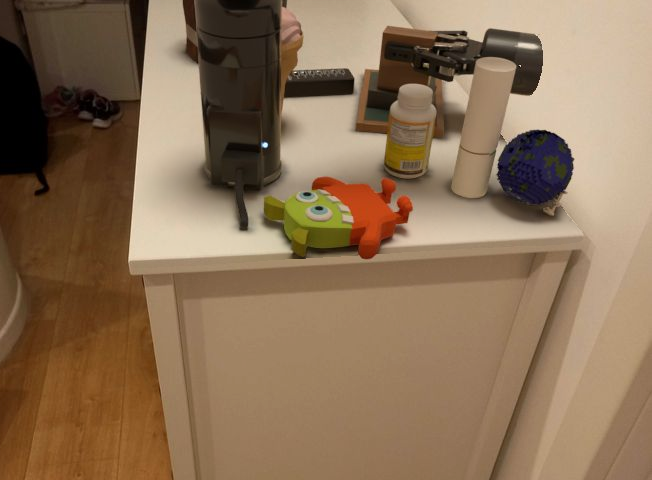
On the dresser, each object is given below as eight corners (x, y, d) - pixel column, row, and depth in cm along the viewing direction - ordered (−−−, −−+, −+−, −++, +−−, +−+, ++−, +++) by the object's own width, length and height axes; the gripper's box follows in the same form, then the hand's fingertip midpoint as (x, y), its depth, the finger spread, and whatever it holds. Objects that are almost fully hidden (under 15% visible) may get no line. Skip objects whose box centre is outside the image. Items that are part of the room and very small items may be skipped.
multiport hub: (354, 93, 104) (355, 78, 103) (282, 97, 103) (283, 81, 101) (347, 82, 108) (348, 67, 106) (278, 85, 106) (278, 70, 104)
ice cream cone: (312, 117, 98) (318, -40, 84) (282, 150, 90) (284, -18, 77) (242, 104, 100) (237, -51, 87) (207, 134, 93) (196, -30, 79)
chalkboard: (442, 138, 94) (444, 129, 93) (355, 130, 95) (356, 122, 94) (440, 82, 109) (441, 74, 108) (364, 76, 110) (365, 68, 109)
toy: (435, 221, 71) (300, 243, 67) (429, 254, 74) (298, 277, 69) (375, 158, 81) (254, 173, 77) (371, 189, 84) (254, 205, 80)
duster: (429, 116, 96) (441, 42, 90) (366, 107, 98) (373, 33, 91) (434, 102, 100) (446, 30, 93) (374, 93, 102) (381, 22, 95)
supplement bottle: (402, 155, 90) (413, 76, 83) (435, 171, 87) (450, 91, 80) (373, 168, 87) (382, 88, 80) (407, 185, 84) (419, 103, 77)
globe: (527, 212, 84) (557, 155, 84) (565, 217, 77) (599, 154, 76) (477, 181, 82) (508, 122, 81) (511, 183, 75) (546, 118, 74)
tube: (463, 200, 82) (491, 73, 72) (444, 183, 85) (468, 59, 75) (493, 194, 83) (524, 68, 73) (473, 177, 86) (500, 55, 76)
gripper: (525, 17, 93) (400, 2, 97) (519, 51, 83) (380, 33, 87) (512, 73, 98) (394, 56, 102) (504, 111, 88) (373, 92, 92)
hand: (388, 45), depth 94 cm, fingers closed on duster, 3 cm apart
